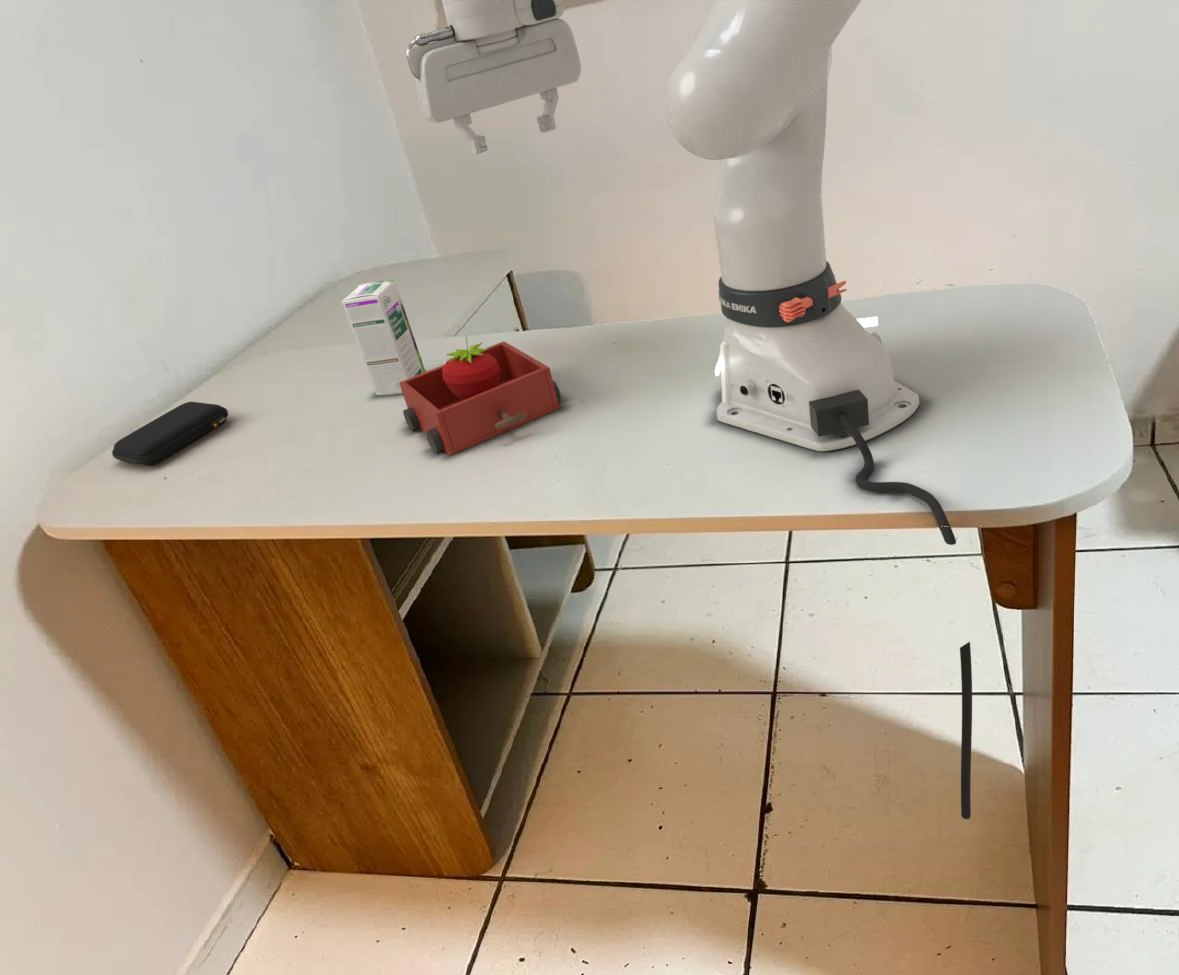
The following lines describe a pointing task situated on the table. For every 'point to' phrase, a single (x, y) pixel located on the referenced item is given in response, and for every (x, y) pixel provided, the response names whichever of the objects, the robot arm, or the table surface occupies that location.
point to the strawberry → (471, 372)
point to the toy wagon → (480, 402)
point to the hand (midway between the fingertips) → (514, 141)
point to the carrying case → (170, 433)
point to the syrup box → (383, 335)
